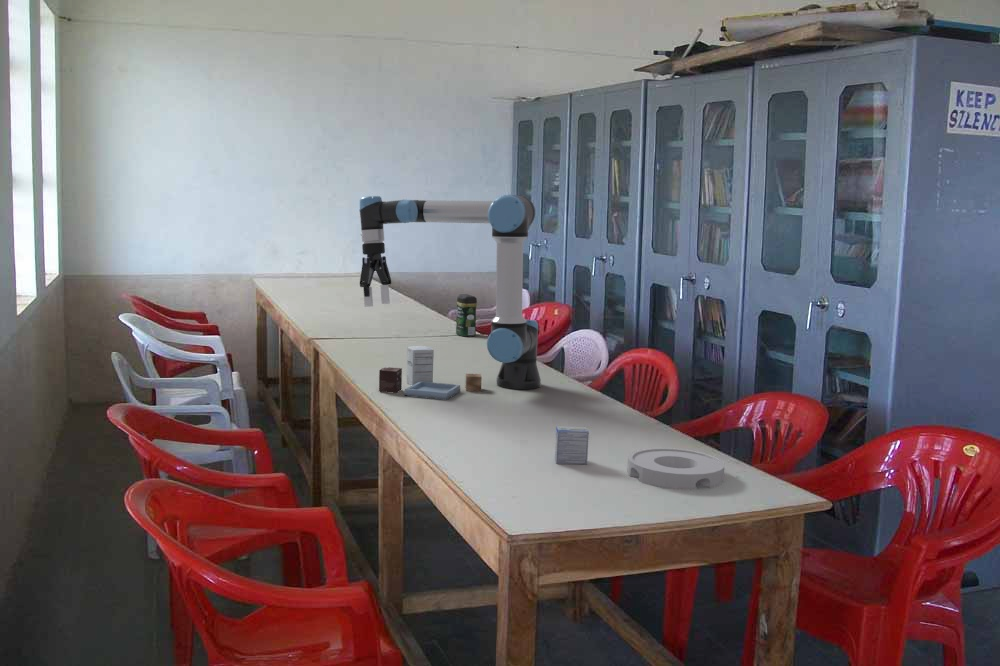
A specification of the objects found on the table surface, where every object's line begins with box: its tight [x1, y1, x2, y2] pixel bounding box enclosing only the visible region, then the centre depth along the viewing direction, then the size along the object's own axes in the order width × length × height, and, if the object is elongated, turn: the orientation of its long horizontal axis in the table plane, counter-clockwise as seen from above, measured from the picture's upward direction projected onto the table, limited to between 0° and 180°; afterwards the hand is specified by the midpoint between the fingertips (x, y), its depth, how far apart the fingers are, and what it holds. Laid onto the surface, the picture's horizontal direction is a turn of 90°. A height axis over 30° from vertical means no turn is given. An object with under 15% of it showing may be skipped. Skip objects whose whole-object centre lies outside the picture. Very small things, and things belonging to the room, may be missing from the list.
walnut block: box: [464, 373, 483, 392], centre depth 329 cm, size 5×5×5 cm
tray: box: [404, 381, 461, 401], centre depth 321 cm, size 14×14×2 cm
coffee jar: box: [455, 293, 478, 337], centre depth 445 cm, size 10×8×19 cm
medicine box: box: [554, 425, 590, 465], centre depth 247 cm, size 8×4×9 cm, turn 92°
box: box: [378, 366, 403, 394], centre depth 322 cm, size 6×6×7 cm
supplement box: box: [406, 345, 435, 386], centre depth 334 cm, size 7×7×13 cm
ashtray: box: [626, 447, 725, 491], centre depth 240 cm, size 23×23×4 cm
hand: (377, 305), depth 336 cm, fingers open, 13 cm apart
